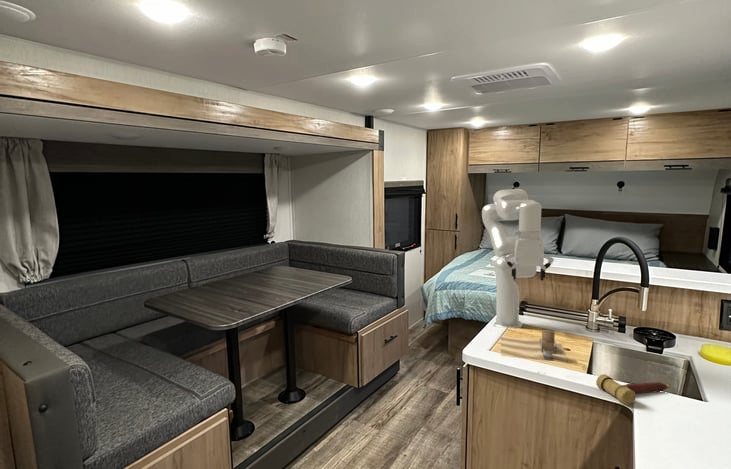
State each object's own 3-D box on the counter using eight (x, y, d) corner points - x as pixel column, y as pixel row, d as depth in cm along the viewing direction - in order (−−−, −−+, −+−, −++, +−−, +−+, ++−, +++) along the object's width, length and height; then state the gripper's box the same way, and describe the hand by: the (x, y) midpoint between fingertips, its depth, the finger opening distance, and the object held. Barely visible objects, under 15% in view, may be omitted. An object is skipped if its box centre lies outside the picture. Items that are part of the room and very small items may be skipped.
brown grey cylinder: (541, 353, 141) (541, 329, 140) (553, 354, 140) (553, 330, 139) (542, 358, 137) (542, 333, 136) (554, 359, 136) (555, 334, 135)
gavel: (655, 371, 122) (686, 387, 112) (653, 385, 122) (684, 402, 113) (596, 374, 118) (623, 390, 109) (595, 388, 119) (621, 406, 109)
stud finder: (539, 344, 148) (540, 337, 148) (554, 346, 147) (554, 338, 146) (541, 352, 142) (541, 344, 142) (556, 353, 140) (556, 345, 140)
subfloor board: (500, 339, 158) (500, 336, 158) (559, 345, 151) (559, 341, 151) (501, 359, 140) (501, 355, 140) (568, 366, 133) (568, 362, 133)
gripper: (505, 236, 143) (504, 280, 146) (556, 237, 138) (554, 283, 141) (504, 233, 150) (503, 275, 153) (553, 233, 145) (551, 277, 148)
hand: (527, 278), depth 147 cm, fingers open, 9 cm apart
